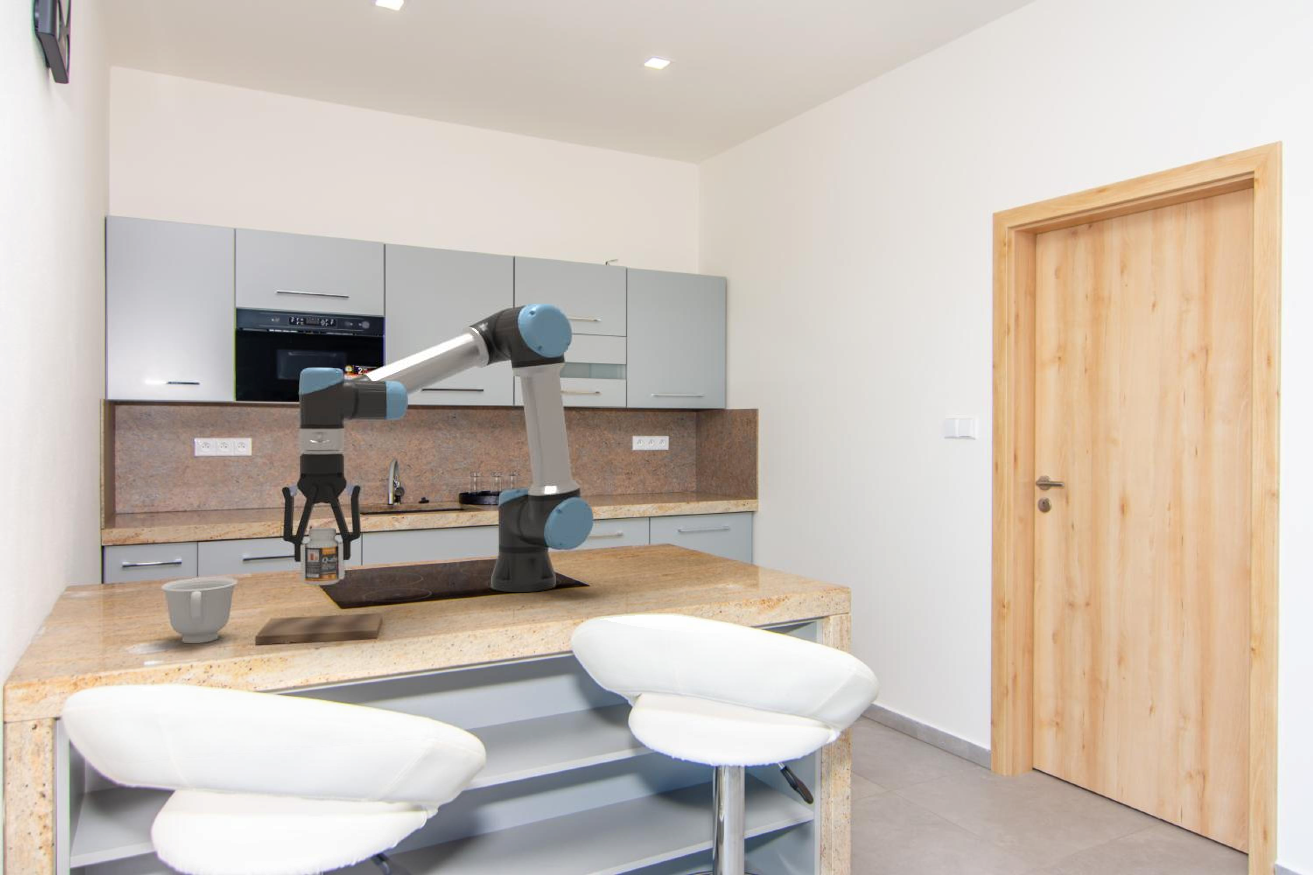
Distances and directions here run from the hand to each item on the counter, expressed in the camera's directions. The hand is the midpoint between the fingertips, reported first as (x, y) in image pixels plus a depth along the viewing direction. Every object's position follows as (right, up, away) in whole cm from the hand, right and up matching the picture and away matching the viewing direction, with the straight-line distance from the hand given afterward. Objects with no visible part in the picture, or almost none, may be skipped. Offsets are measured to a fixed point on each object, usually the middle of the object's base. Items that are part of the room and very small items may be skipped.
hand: (323, 578), depth 158 cm
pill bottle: (0, -1, 0) cm, 1 cm away
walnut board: (0, -10, 0) cm, 10 cm away
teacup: (-19, -10, -7) cm, 23 cm away
